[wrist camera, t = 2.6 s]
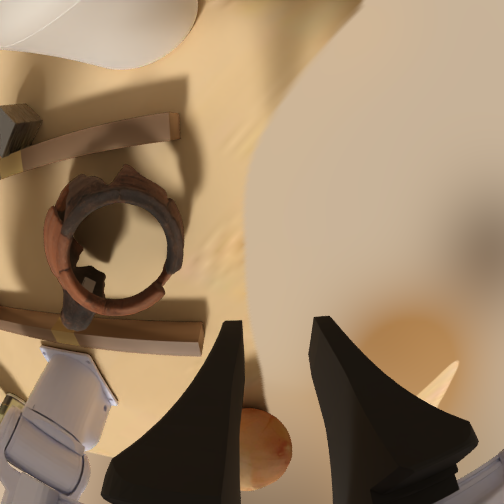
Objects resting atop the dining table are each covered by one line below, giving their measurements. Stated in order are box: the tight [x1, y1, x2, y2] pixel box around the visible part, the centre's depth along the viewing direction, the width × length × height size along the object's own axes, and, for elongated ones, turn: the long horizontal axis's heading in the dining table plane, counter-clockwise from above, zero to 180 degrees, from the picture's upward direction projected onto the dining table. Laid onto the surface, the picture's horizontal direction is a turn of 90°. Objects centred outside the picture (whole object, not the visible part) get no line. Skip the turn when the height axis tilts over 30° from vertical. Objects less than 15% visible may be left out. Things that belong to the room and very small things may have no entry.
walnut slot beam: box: [0, 112, 205, 356], centre depth 17 cm, size 17×28×2 cm, turn 91°
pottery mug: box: [44, 164, 184, 332], centre depth 16 cm, size 12×10×8 cm
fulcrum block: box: [0, 104, 42, 158], centre depth 13 cm, size 3×3×3 cm
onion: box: [240, 408, 292, 491], centre depth 24 cm, size 10×10×10 cm
